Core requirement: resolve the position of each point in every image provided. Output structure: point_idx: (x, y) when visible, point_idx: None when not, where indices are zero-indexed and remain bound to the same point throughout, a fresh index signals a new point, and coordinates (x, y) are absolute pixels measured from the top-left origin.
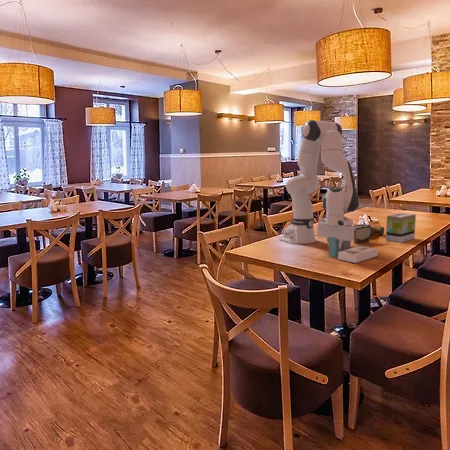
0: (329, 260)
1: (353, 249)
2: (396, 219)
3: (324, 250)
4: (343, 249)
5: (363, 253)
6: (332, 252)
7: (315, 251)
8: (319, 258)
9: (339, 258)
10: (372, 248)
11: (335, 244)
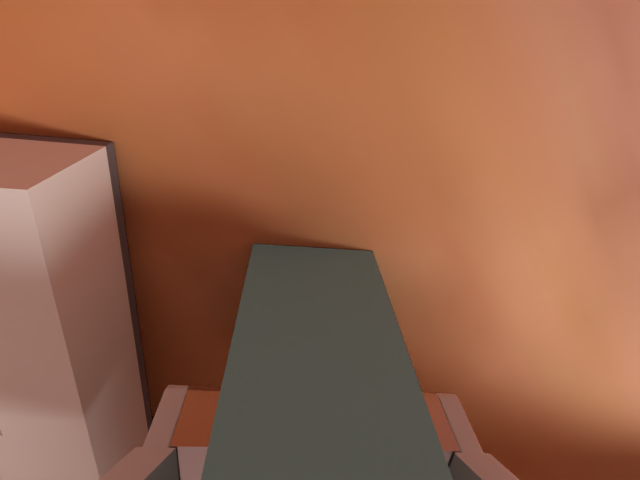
0: (202, 13)
1: (22, 477)
2: None
3: (545, 417)
4: None
5: None
6: (310, 285)
7: (637, 333)
8: (430, 23)
9: (71, 146)
10: None
11: (215, 416)
